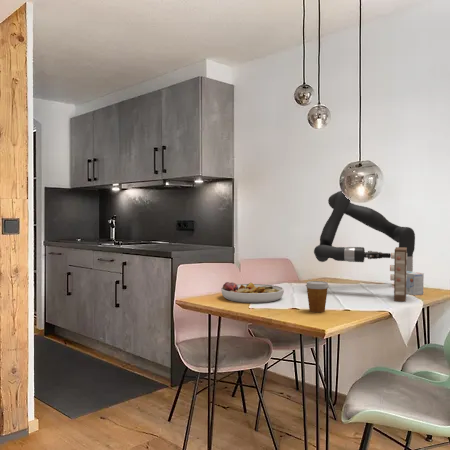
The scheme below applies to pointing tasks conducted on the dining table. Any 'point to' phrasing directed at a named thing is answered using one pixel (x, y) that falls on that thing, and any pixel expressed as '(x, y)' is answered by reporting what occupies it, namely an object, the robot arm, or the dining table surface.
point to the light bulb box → (414, 283)
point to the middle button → (393, 267)
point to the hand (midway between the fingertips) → (390, 255)
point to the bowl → (251, 292)
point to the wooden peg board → (400, 274)
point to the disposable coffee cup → (317, 295)
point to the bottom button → (393, 277)
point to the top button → (394, 255)
